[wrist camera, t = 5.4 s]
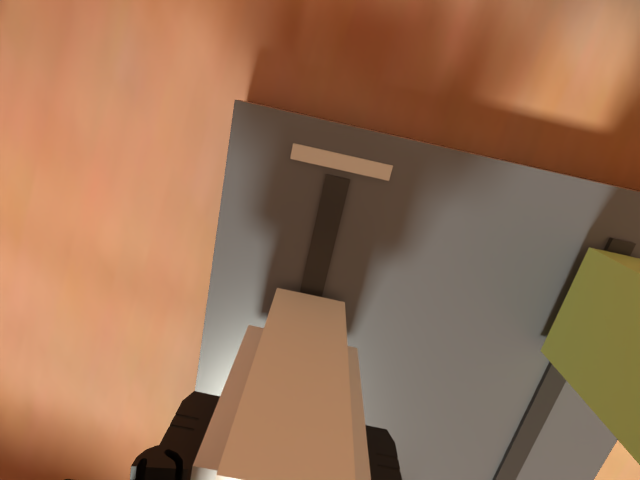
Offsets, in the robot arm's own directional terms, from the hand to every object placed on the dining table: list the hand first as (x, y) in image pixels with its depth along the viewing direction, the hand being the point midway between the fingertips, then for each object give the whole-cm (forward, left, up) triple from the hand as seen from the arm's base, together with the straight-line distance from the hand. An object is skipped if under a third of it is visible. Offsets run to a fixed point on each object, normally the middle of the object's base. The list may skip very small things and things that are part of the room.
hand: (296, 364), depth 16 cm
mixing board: (+6, -2, -4) cm, 8 cm away
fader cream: (0, 0, -2) cm, 2 cm away
